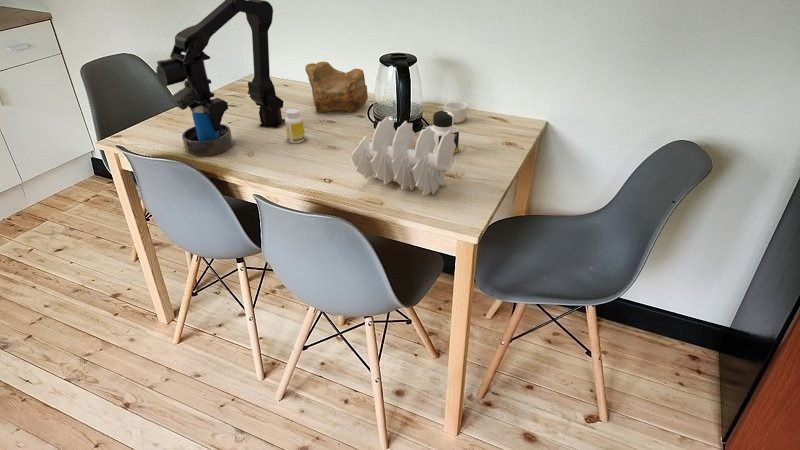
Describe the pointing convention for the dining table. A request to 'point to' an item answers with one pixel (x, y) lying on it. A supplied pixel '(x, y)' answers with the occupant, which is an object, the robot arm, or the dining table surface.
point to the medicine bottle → (444, 127)
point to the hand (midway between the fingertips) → (208, 127)
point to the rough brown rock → (336, 87)
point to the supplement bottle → (294, 126)
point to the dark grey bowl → (207, 142)
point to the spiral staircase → (405, 156)
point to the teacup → (456, 110)
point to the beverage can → (204, 125)
